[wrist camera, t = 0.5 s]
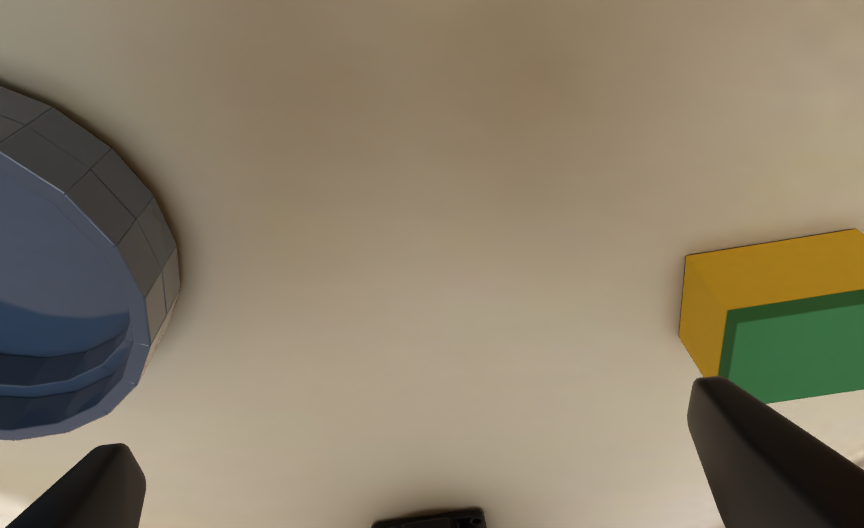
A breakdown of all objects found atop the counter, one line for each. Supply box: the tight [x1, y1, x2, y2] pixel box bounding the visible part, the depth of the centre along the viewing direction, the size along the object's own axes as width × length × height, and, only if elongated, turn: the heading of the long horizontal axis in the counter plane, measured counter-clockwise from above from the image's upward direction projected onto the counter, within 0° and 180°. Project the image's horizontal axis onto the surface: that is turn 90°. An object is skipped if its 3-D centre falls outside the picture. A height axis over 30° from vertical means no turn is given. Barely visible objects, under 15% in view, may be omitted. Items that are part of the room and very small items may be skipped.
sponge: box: [679, 229, 864, 404], centre depth 24 cm, size 7×4×4 cm, turn 99°
